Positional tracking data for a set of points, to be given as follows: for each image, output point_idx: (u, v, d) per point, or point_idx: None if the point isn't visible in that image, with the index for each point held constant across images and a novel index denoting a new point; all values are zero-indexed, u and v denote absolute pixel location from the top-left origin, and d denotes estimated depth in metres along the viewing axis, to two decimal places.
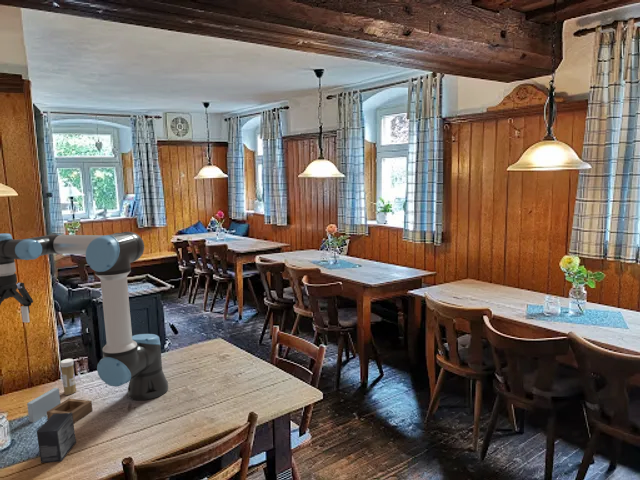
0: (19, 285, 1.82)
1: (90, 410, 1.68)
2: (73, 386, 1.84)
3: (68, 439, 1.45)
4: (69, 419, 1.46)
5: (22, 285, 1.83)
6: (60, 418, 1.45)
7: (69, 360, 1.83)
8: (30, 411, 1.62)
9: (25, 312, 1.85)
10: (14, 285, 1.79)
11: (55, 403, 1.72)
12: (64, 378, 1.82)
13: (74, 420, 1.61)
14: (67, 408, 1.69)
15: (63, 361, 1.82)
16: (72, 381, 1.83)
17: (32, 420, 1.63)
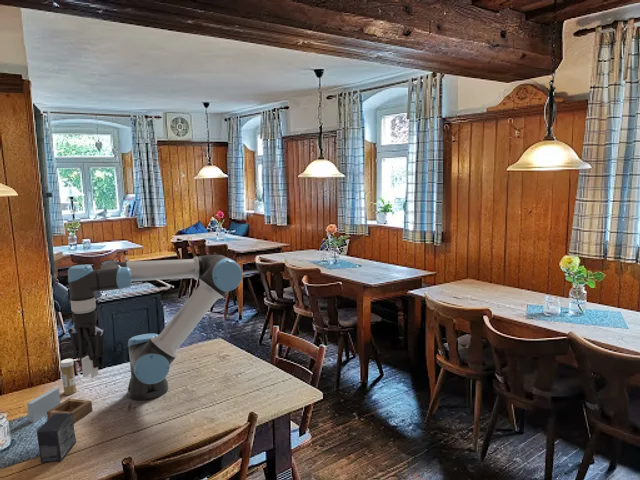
0: None
1: (90, 410, 1.68)
2: (73, 386, 1.84)
3: (68, 439, 1.45)
4: (69, 419, 1.46)
5: (97, 333, 1.56)
6: (60, 418, 1.45)
7: (69, 360, 1.83)
8: (30, 411, 1.62)
9: None
10: (90, 325, 1.56)
11: (55, 403, 1.72)
12: (64, 378, 1.82)
13: (74, 420, 1.61)
14: (67, 408, 1.69)
15: (63, 361, 1.82)
16: (72, 381, 1.83)
17: (32, 420, 1.63)
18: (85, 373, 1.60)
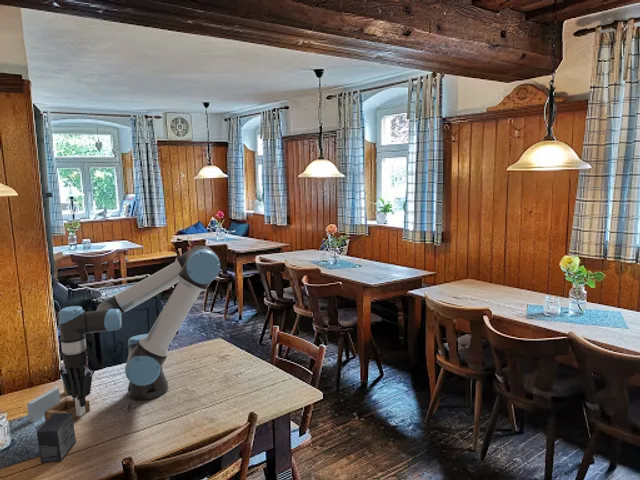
0: (87, 372, 1.60)
1: (88, 410, 1.69)
2: None
3: (68, 439, 1.45)
4: (69, 419, 1.46)
5: (87, 374, 1.60)
6: (60, 418, 1.45)
7: None
8: (30, 411, 1.62)
9: None
10: (81, 366, 1.60)
11: (55, 403, 1.72)
12: None
13: None
14: (65, 408, 1.69)
15: None
16: None
17: (32, 420, 1.63)
18: None
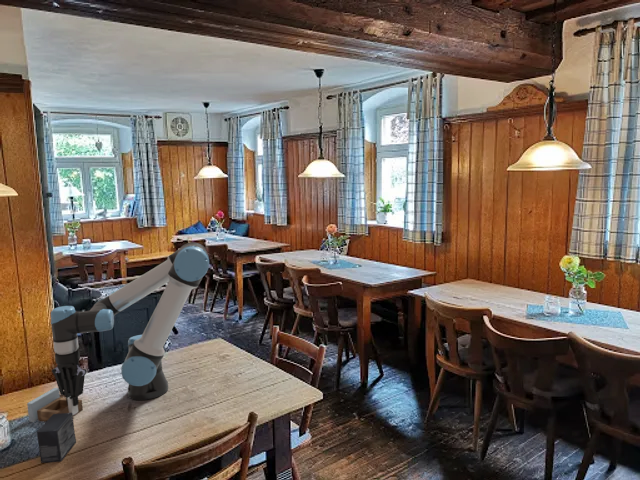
0: (79, 371, 1.61)
1: (80, 409, 1.69)
2: None
3: (68, 439, 1.45)
4: (69, 419, 1.46)
5: (79, 374, 1.61)
6: (60, 418, 1.45)
7: None
8: (30, 411, 1.62)
9: None
10: (73, 366, 1.61)
11: None
12: None
13: None
14: (58, 407, 1.70)
15: None
16: None
17: (32, 420, 1.63)
18: None
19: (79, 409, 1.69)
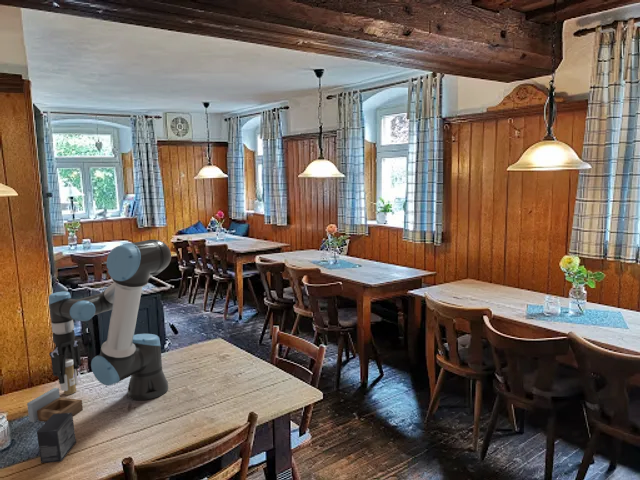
0: (76, 343, 1.87)
1: (80, 409, 1.69)
2: (73, 386, 1.84)
3: (68, 439, 1.45)
4: (69, 419, 1.46)
5: (78, 343, 1.87)
6: (60, 418, 1.45)
7: (69, 360, 1.83)
8: (30, 411, 1.62)
9: None
10: (72, 340, 1.85)
11: None
12: None
13: None
14: (58, 407, 1.70)
15: None
16: (72, 381, 1.83)
17: (32, 420, 1.63)
18: None
19: (79, 409, 1.69)
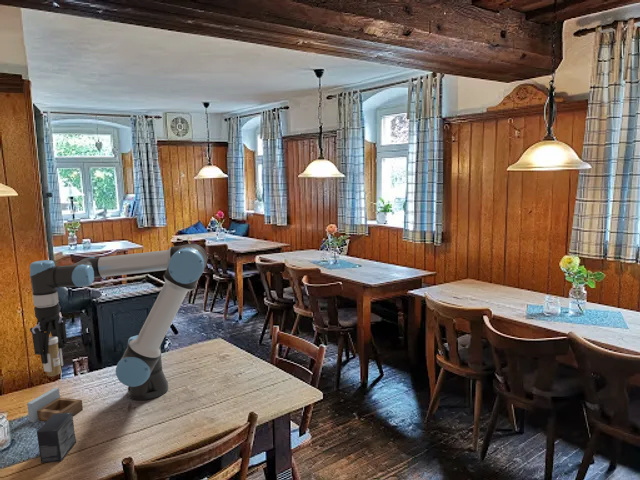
0: (61, 319, 1.67)
1: (80, 409, 1.69)
2: (57, 367, 1.64)
3: (68, 439, 1.45)
4: (69, 419, 1.46)
5: (64, 320, 1.67)
6: (60, 418, 1.45)
7: (53, 337, 1.63)
8: (30, 411, 1.62)
9: None
10: (57, 316, 1.65)
11: None
12: None
13: None
14: (58, 407, 1.70)
15: None
16: (57, 362, 1.63)
17: (32, 420, 1.63)
18: None
19: (79, 409, 1.69)
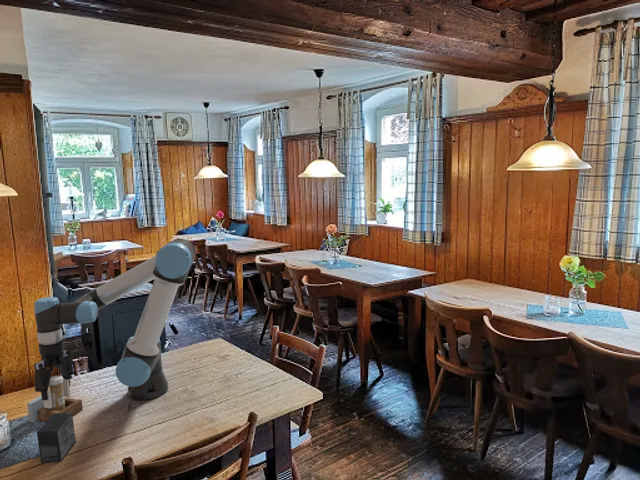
0: (65, 353, 1.69)
1: (80, 409, 1.69)
2: (62, 406, 1.66)
3: (68, 439, 1.45)
4: (69, 419, 1.46)
5: (68, 353, 1.69)
6: (59, 418, 1.45)
7: (58, 377, 1.65)
8: (30, 411, 1.62)
9: (66, 386, 1.69)
10: (61, 351, 1.66)
11: None
12: (52, 397, 1.64)
13: None
14: None
15: (51, 378, 1.65)
16: (61, 401, 1.65)
17: (32, 420, 1.63)
18: None
19: (79, 409, 1.69)
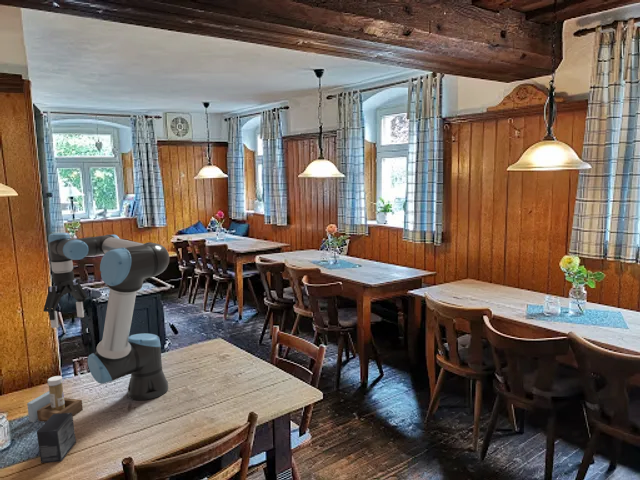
0: (75, 282, 1.92)
1: (80, 409, 1.69)
2: (62, 406, 1.66)
3: (68, 439, 1.45)
4: (69, 419, 1.46)
5: (78, 282, 1.92)
6: (60, 418, 1.45)
7: (57, 378, 1.65)
8: (30, 411, 1.62)
9: (80, 307, 1.94)
10: (71, 281, 1.89)
11: None
12: (52, 398, 1.64)
13: None
14: None
15: (51, 379, 1.64)
16: (61, 401, 1.65)
17: (32, 420, 1.63)
18: None
19: (79, 409, 1.69)
